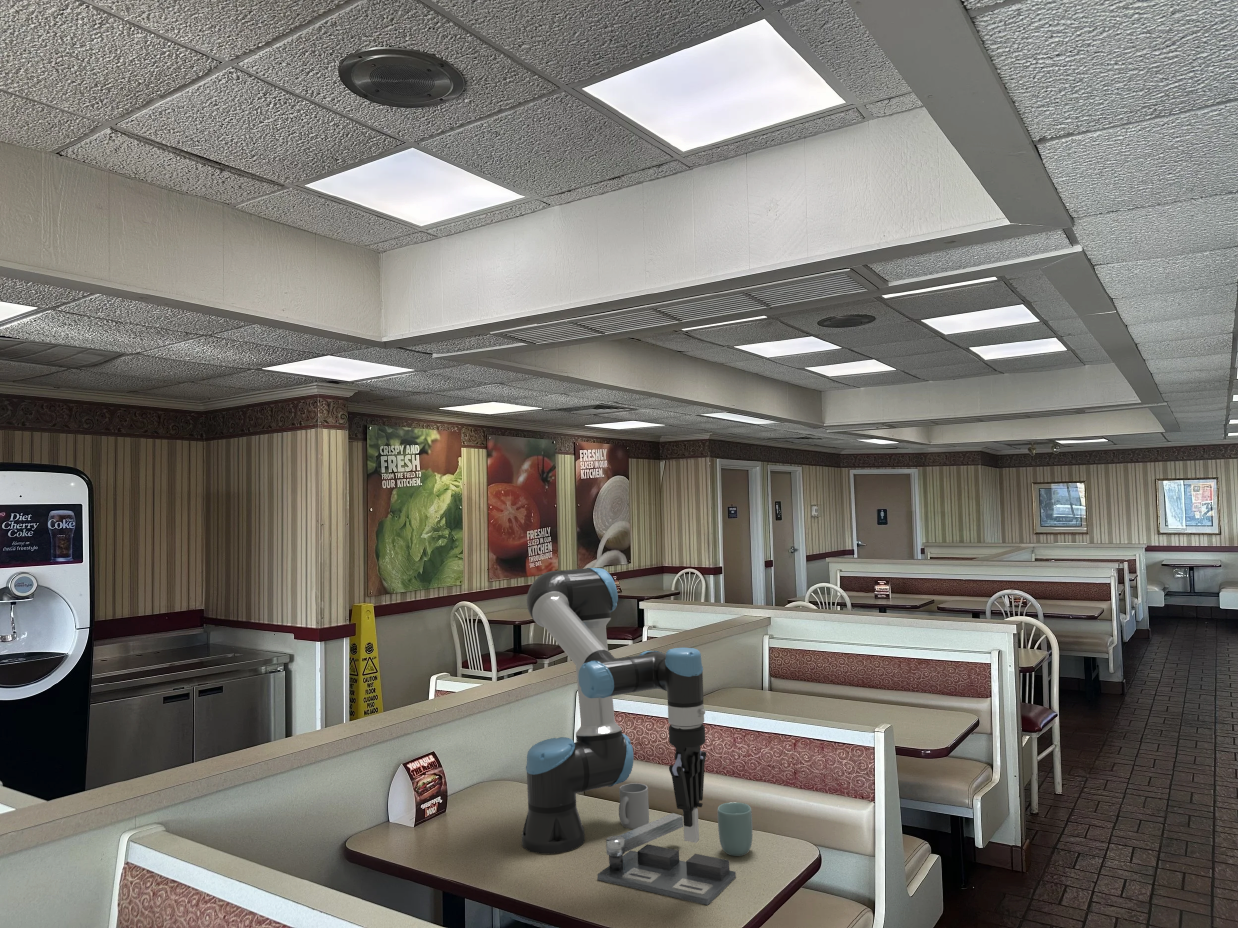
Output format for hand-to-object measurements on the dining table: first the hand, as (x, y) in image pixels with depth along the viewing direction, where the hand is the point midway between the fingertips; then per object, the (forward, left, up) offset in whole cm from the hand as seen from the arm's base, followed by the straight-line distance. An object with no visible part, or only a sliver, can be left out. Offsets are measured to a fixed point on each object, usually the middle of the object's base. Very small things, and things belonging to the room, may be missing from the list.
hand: (691, 840), depth 173 cm
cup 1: (-30, +26, -11) cm, 41 cm away
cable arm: (-17, +9, -6) cm, 20 cm away
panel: (-8, +3, -10) cm, 13 cm away
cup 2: (0, +22, -11) cm, 24 cm away
